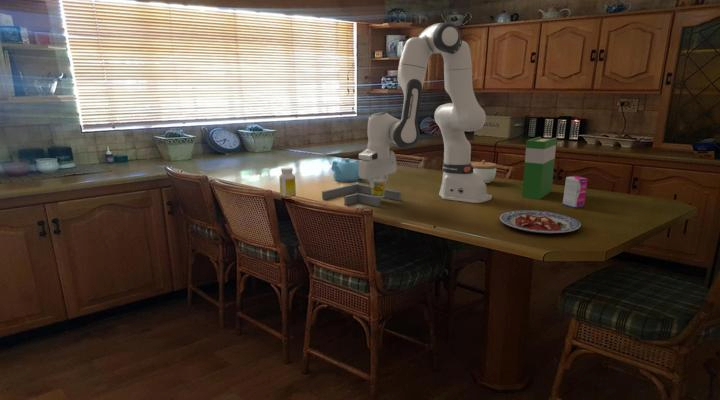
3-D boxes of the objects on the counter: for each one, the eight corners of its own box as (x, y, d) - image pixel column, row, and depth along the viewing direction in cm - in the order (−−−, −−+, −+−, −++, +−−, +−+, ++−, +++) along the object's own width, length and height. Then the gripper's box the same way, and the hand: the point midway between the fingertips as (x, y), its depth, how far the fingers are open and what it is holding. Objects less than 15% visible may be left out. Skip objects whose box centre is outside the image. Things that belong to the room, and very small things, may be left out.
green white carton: (534, 189, 215) (539, 136, 209) (551, 191, 211) (556, 137, 205) (522, 196, 202) (526, 140, 196) (539, 199, 197) (545, 141, 191)
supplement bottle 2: (383, 194, 198) (384, 172, 196) (385, 197, 193) (385, 174, 190) (370, 195, 198) (371, 172, 195) (372, 198, 192) (372, 174, 190)
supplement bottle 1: (299, 197, 203) (298, 167, 200) (290, 200, 197) (289, 170, 194) (285, 195, 206) (284, 166, 203) (277, 199, 200) (275, 169, 197)
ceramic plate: (490, 230, 157) (490, 221, 156) (510, 212, 178) (510, 204, 178) (573, 243, 144) (574, 234, 143) (584, 222, 165) (585, 214, 165)
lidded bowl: (499, 181, 232) (500, 159, 230) (491, 186, 222) (492, 163, 219) (474, 178, 239) (475, 157, 236) (465, 183, 229) (466, 160, 226)
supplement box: (574, 208, 183) (577, 179, 180) (562, 205, 188) (564, 176, 185) (584, 206, 185) (588, 178, 183) (572, 203, 190) (575, 175, 188)
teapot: (360, 176, 248) (359, 155, 245) (365, 181, 233) (365, 160, 231) (331, 177, 245) (330, 156, 243) (334, 183, 231) (334, 161, 228)
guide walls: (400, 200, 197) (401, 192, 196) (366, 210, 182) (366, 201, 181) (357, 191, 213) (357, 183, 213) (322, 199, 198) (322, 191, 198)
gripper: (388, 149, 200) (388, 181, 204) (355, 155, 186) (355, 189, 189) (400, 151, 196) (399, 183, 199) (367, 156, 182) (367, 191, 185)
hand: (378, 186), depth 194 cm, fingers closed on supplement bottle 2, 5 cm apart
